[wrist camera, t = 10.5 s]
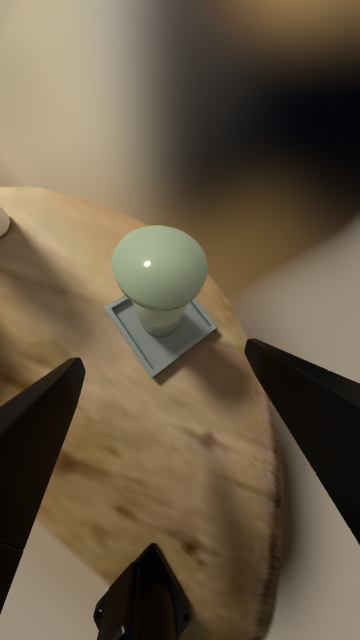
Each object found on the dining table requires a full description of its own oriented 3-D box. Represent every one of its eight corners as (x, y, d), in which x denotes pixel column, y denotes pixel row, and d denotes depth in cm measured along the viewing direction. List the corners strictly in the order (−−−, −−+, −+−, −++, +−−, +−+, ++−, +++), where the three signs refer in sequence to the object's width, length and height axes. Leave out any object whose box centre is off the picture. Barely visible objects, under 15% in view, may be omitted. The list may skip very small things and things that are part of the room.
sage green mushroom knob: (192, 322, 23) (226, 275, 11) (153, 349, 21) (147, 325, 10) (166, 288, 24) (172, 214, 13) (127, 310, 22) (93, 247, 11)
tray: (214, 329, 24) (218, 326, 22) (151, 377, 20) (151, 378, 19) (170, 274, 25) (171, 268, 24) (107, 310, 22) (103, 306, 21)
